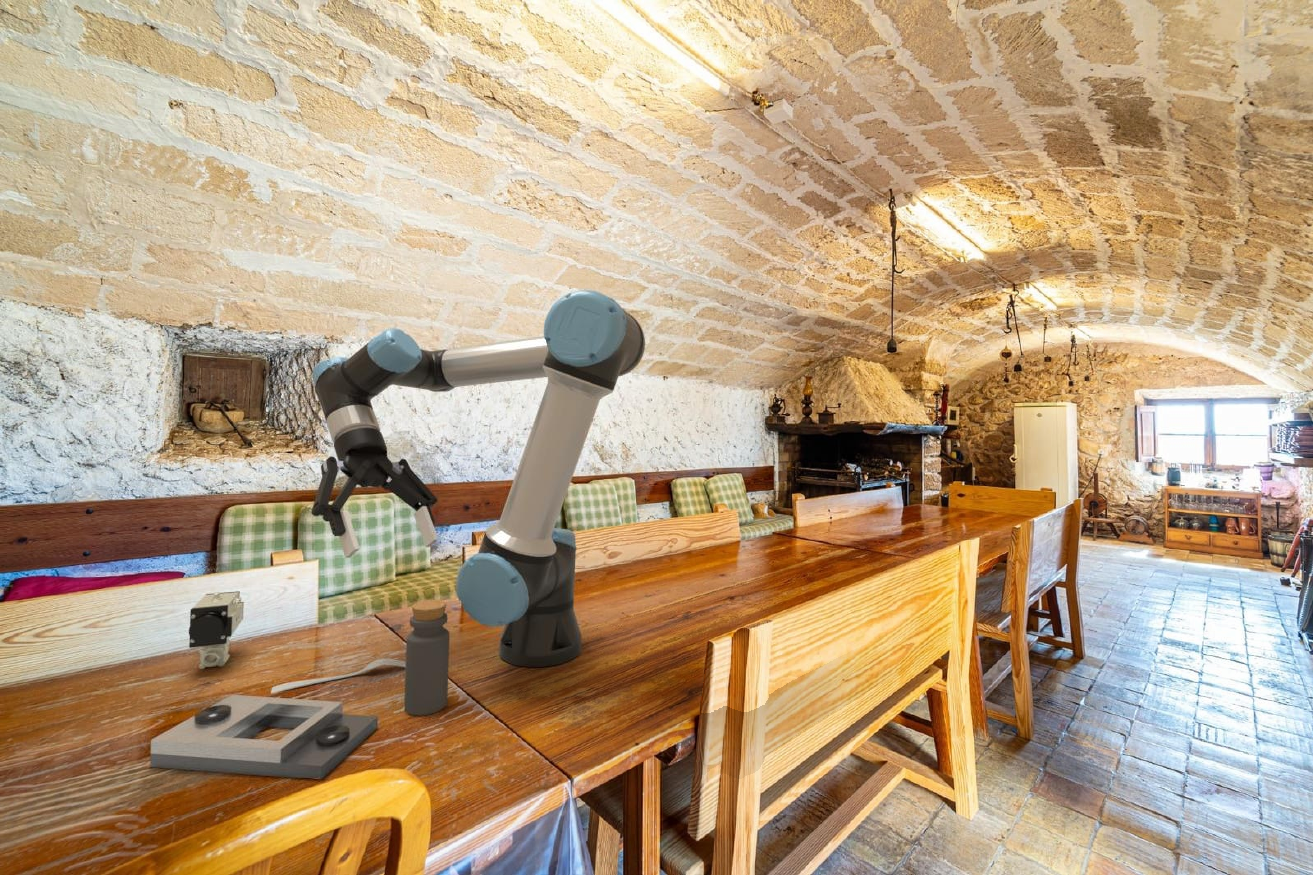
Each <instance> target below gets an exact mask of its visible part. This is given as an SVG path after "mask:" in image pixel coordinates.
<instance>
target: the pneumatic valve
mask: <svg viewBox="0 0 1313 875" xmlns="http://www.w3.org/2000/svg"><path fill="white" fill-rule="evenodd" d="M240 593H241V592H240V591H238V590H236V591H225V592H219V591H218V592H213V593H206V594H205V595H203V597H202V598H201V599H200V600H199V601H198V602H197V603H196V604H195V605H194V606H193V607H192V608H190V613H189V614H190V616H189V617H190V618H189V620H190V621H189V624H190V625H189V628H188V636H189V641H188V642H189V645H188V646H189V647H188V648H189V649H193V648H199V647H200V649H199V651H198V653H199V654H200V659H199V662H200V663H199V664H198V669H200V670H204V669H206V668H214V667H216V666H217V667H224V666H225V664H226V663H227V662H228V660H229V658H230V656H231V655H230V653H229V649H230V648H229V645H230V643H231V641H230V639H231V637H232V635H233V634H234V633H235V631H236V630H237V628H238V627H239V625H240V624H241V623H242V621H243V619H244V601H242V597H241V596H240Z"/></svg>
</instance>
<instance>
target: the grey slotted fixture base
mask: <svg viewBox="0 0 1313 875" xmlns="http://www.w3.org/2000/svg"><path fill="white" fill-rule="evenodd" d="M343 703H344V702H343V701H330V700H329V701H328V700H317V699H316V700H315V699H301V698H299V699H298V698H283V697H270V696H255V695H239V694H231V695H228V696H227V697H226V698H223V699H221V700H220V701H218V702H216V703H215V704H212V705H210V706H209V707H207V708H204V709H202V710H200V711H198V712H197V713H195V714H194V715H193V716H191V717H190V718H188V719H186V720H184V721H183V722H180V723H179V724H177V725H175V726H173V727H172V728H170V729H169V730H166V731H165V732H162V733H161V734H159V735H157V736H156V737H154V738H152V739H151V740H150V761H149V762H150V763H149V766H150V768H158V769H172V770H184V771H185V770H186V771H196V772H198V771H199V772H211V773H225V774H238V775H249V776H250V775H252V776H264V777H275V778H276V777H278V778H290V779H292V778H293V779H301V778H317V781H323V779H324V778H325V777H326V776H327V775H328V774H329V773H330V772H332V771H333V770H334V769H335V768H336V767H337V766H338V765H340V763H342V762H343V760H345V759H346V757H348V756H349V755H350V754H351V753H352V752H353V751H354V750H355V749H356V748H357V747H359V746H360V745H361V744H362V743H363V742H364V741H365V740H366V739H367V738H369V736H370V735H372V733H374V732H375V731H376V730H377V729H378V723H379V722H378V721H379V720H378V719H379V717H378V715H365V714H362V715H361V714H353V713H352V714H351V713H350V714H349V713H343V705H344V704H343ZM266 728H274V729H275V728H277V729H290V730H291V729H293V730H291V731H290V732H289V733H287V734H285V736H282V738H281V739H279V740H270V739H268V740H267V739H255V738H253V737H254V736H256V735H257V734H259V733H260V732H262V731H263V730H265V729H266ZM331 770H332V771H331ZM328 772H329V773H328ZM327 773H328V774H327ZM326 774H327V775H326ZM325 775H326V776H325ZM324 776H325V777H324ZM319 777H320V778H319ZM318 778H319V779H318Z"/></svg>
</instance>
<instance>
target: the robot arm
mask: <svg viewBox="0 0 1313 875" xmlns="http://www.w3.org/2000/svg"><path fill="white" fill-rule="evenodd" d="M543 324H544V325H543V336H537V337H529V338H522V339H521V338H520V339H513V340H506V341H498V342H497V341H496V342H492V343H491V342H490V343H483V344H476V345H467V346H460V347H453V348H452V347H451V348H448V349H440V350H425V349H422V348H420V346H419V344H418V343H417V341H415V339H414V337H412V336H411V335H409V334H408V333H405V331H404V330H402V329H400V328H395V327H390V328H387V329H385V330H383V331H382V332H381V333H380V334H378V335H376V336H374V337H373V338H372V339H370V341H368V342H367V343H366V344H364V345H363V346H362V347H361V348H360V349H359V350H358V351H356V352H355V353H354V354H353V355H351V356H350V357H342V356H334V357H330V358H328V359H327V360H321V361H320V362H318V363H317V364H316V365H315V366H314V368H313V370H312V374H311V375H312V380H313V384H314V392H315V395H316V396H317V399H318V402H319V405H320V407H321V410H322V413H323V415H324V420H325V423H326V425H327V429H328V432H329V434H330V438H331V441H332V443H333V448H334V451H335V454H336V457H337V458H336V457H334V456H328V458H327V459H326V460H325V461H324V462H323V463H322V464H321V466H320V469H321V470H320V471H321V480H320V482H319V486H318V488H317V492H316V495H315V499H314V502H313V504H312V508H311V512H310V513H311V514H312V516H314V517H318V516H321V517H322V520H323V521H324V522H329V526H330V529H331V533H332V535H333V536H334V537H338V539H339V542H340V545H341V549H342V552H343V555H344V558H345V559H348V558H352V556H354V555H355V554H356V553H357V552H358V551H359V550H360V549H361V548H360V546H359V542H358V538H357V536H356V532H355V530H354V526H353V524H352V520H351V516H350V513H349V510H342V509H343V507H344V506H345V504H346V503H347V502H348V500H349V498H350V497H351V495H352V493H353V491H354V490H355V488H356V487H357V486H360V488H368V487H371V488H380V487H381V488H382V489H383V490H386V491H390V492H391V493H392V494H394V495H395V496H396V497H398V498H399V499H400V500H402V501H403V502H404V503H406V504H407V505H408V506H409V507H410V508H412V509H413V510H415V512H414V513H413V516H414V519H415V522H416V524H417V528H418V531H419V533H420V536H421V538H422V541H423V543H424V546H425V548H430V547H431V546H432V545H433V544H435V543H436V542H438V540H439V537H438V534H437V531H436V529H435V526H434V525H435V522H436V521H435V518H434V516H433V512H432V510H431V508H432V507H433V506H435V504H437V503H438V501H439V499H438V498H437V496H436V495H435V494H434V493H433V492H432V491H431V490H430V489H429V488H428V487H427V486H426V484H425V483H424V482H423V481H422V480H421V479H420V478H419V477H418V475H417V474H416V473H415V472H414V471H413V470H412V469H411V467H410V464H409V463H408V461H407V459H405V458H400V460H399V461H393V462H392V460H390V459H389V457H388V448H387V444H386V442H385V439H384V436H383V434H382V432H381V427H380V424H379V421H378V419H377V417H376V414H375V411H374V407H373V405H372V403H371V400H372V399H374V398H375V397H376V396H378V395H380V393H382V392H384V391H385V390H386V389H388V388H389V387H390V386H393V385H394V386H397V387H398V386H399V387H406V388H407V387H408V388H413V389H414V388H415V389H421V390H426V391H430V392H435V393H441V392H444V393H445V392H450V391H452V390H453V389H455V388H458V387H460V388H461V387H466V386H467V387H468V386H469V387H470V386H476V385H485V384H495V383H503V382H505V383H507V382H512V381H513V382H514V381H523V380H524V381H525V380H533V379H541V378H542V379H543V378H547V384H546V385H545V389H544V393H543V396H542V397H541V402H540V404H539V407H538V409H537V413H536V415H535V418H534V421H533V423H532V426H531V429H530V433H529V435H528V437H527V441H526V445H525V447H524V450H523V453H522V455H521V459H520V461H519V465H518V466H517V467H518V468H517V470H516V473H515V474H514V475H515V476H514V478H513V481H512V484H511V487H510V490H509V492H508V496H507V498H506V502H505V504H504V507H503V510H502V513H501V515H500V518H499V520H498V521H497V522H495V523H493V524H491V525H489V526H487V528H486V530H485V532H484V535H483V538H482V541H481V544H480V546H479V550H478V552H477V553H475V554H473V555H471V556H470V557H468V558H467V560H466V561H465V562H463V564H462V565H461V567H459V568H460V569H459V570H458V572H457V575H456V582H455V588H456V595H457V598H458V601H460V602H461V604H462V609H463V610H464V612H465V613H466V614H467V615H468V616H469V617H470V618H471V619H472V620H474V621H476V622H477V623H479V624H481V625H484V626H486V627H493V628H494V627H495V628H497V627H502V626H504V628H503V630H502V633H501V636H500V638H499V647H498V651H499V652H498V655H499V657H500V658H501V659H502V660H503V661H505V662H506V663H509V664H511V665H516V666H519V667H525V668H526V667H527V668H528V667H529V668H541V667H543V668H544V667H551V666H556V665H557V666H558V665H560V664H561V665H562V664H564V663H567V662H569V661H571V660H573V659H575V658H577V657H578V656H579V655H581V654H580V653H581V652H582V649H583V648H582V643H583V640H582V639H583V637H582V636H583V635H582V634H581V630H580V627H579V626H580V625H579V622H578V620H577V616H576V612H575V608H574V604H575V603H574V602H575V578H576V575H575V574H576V556H577V555H576V553H577V546H576V545H577V544H576V535H575V533H574V531H573V530H570V529H567V528H566V529H565V528H559V527H557V528H556V524H557V521H558V519H559V515H560V513H561V510H562V508H563V504H564V502H565V500H566V496H567V493H568V491H569V487H570V485H571V482H572V479H573V476H574V473H575V471H576V467H577V465H578V462H579V459H580V456H581V453H582V451H583V448H584V445H585V443H586V440H587V437H588V434H589V431H590V428H591V427H592V423H593V420H594V418H595V415H596V412H597V409H598V407H599V404H600V400H602V399H603V398H604V397H607V396H608V395H610V394H613V392H614V391H615V387H616V384H617V383H618V380H619V378H620V377H622V376H625V375H627V374H629V373H630V372H632V371H633V370H635V368H636V367H638V365H639V364H640V362H641V360H642V358H643V356H644V353H645V350H646V338H645V333H644V331H643V328H642V325H641V324H640V323H639V322H638V320H637V319H636V318H635V317H634V316H632V315H631V313H629V312H627V311H626V310H625V309H624V308H623V307H621V305H620V303H618V302H617V301H616V300H615V299H613V298H612V297H610V296H607V295H606V294H604V293H601V292H599V291H596V290H592V289H579V290H574V291H572V292H569V293H568V294H566V295H563V296H562V297H560V298H558V300H557V301H556V302H554V304H552V306H551V307H550V309H549V311H548V313H547V315H546V317H545V320H544V323H543ZM339 472H342V473H343V474H344V475H345V476H346V477H348V479H347V480H346V482H345V483H344V485H343V486H342V488H341V490H340V491H339V493H338V494H337V496H336V497H335V498H334V501H333V502H332V503H330V499H331V496H332V492H333V489H334V486H335V482H336V479H337V476H338V473H339ZM389 478H390V480H389ZM387 480H389V481H387ZM341 510H342V511H341Z"/></svg>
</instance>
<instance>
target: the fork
mask: <svg viewBox="0 0 1313 875" xmlns="http://www.w3.org/2000/svg"><path fill="white" fill-rule="evenodd" d="M381 666H394V667H400V668H405V669H406V661H403V660H397V659H394V658H378V659H376V660H373V661H371V662H369V663H368V664H367V665H366V666H365V667H364V668H363V669H360V670H358V671H355V672H351V673H347V674H346V673H345V674H341V675H333V676H329V677H320V678H319V677H318V678H312V679H304V680H296V681H290V682H285V683H281V684H277V685H275V686H273V687H272V688H271V691H270V694H277V693H281V692H285V691H289V690H293V689H297V688H302V687H306V686H310V685H314V684H316V685H317V684H320V683H325V682H330V681H335V680H341V679H344V678H345V679H346V678H350V677H353V676H357V675H359V674H362V673H363V672H366V671H370V670H372V669H375V668H379V667H381Z"/></svg>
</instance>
